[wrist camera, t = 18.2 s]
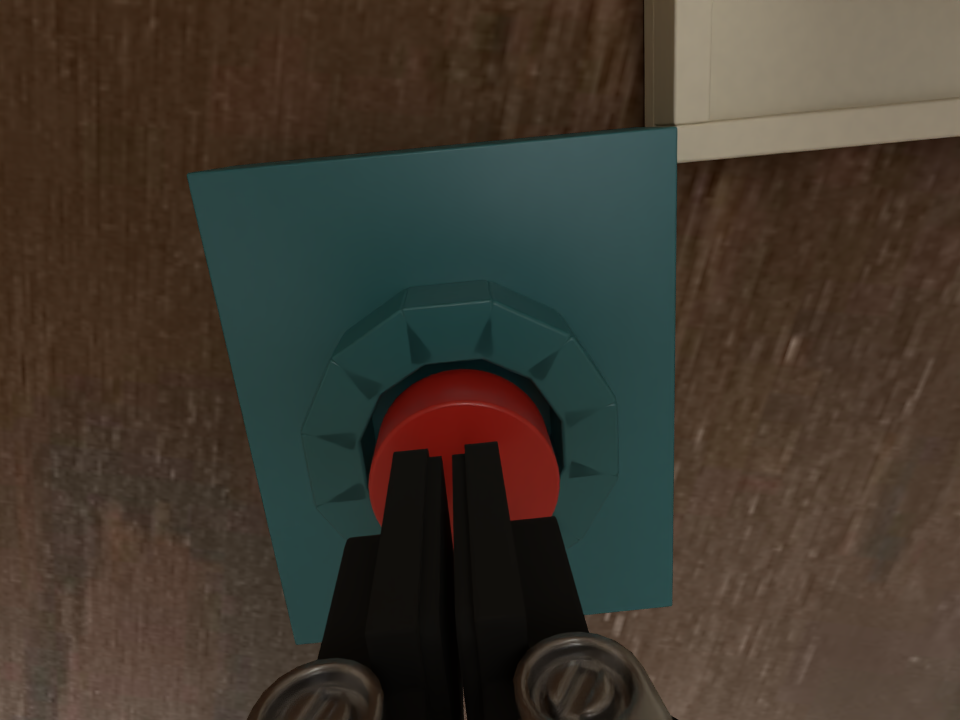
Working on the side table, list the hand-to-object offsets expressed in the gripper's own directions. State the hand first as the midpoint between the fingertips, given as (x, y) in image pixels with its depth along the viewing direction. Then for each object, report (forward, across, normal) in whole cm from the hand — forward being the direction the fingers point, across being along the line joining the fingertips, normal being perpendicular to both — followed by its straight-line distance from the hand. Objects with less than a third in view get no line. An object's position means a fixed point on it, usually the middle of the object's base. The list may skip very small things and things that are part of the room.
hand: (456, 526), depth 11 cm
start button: (+3, 0, 0) cm, 3 cm away
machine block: (+8, 0, 0) cm, 8 cm away
